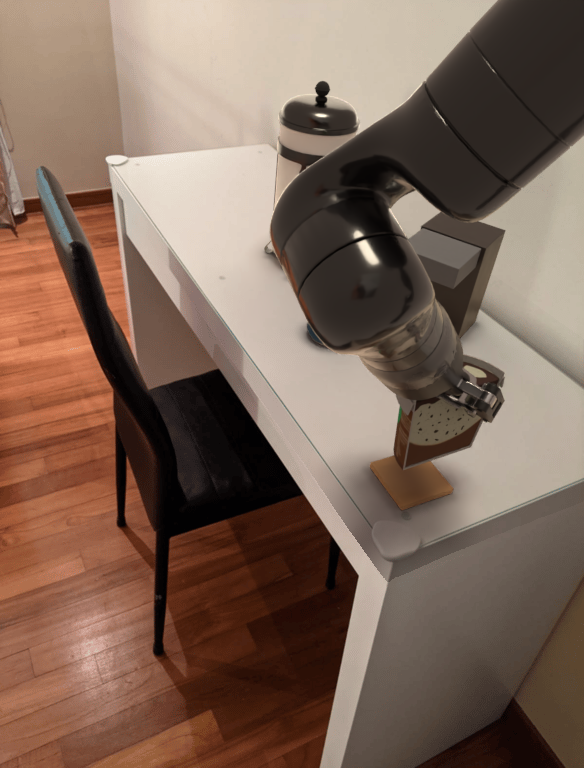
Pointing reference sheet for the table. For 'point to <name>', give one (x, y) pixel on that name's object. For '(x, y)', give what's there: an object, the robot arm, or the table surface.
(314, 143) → the coffee press
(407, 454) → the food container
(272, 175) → the table surface
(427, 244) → the block
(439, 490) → the cork mat
